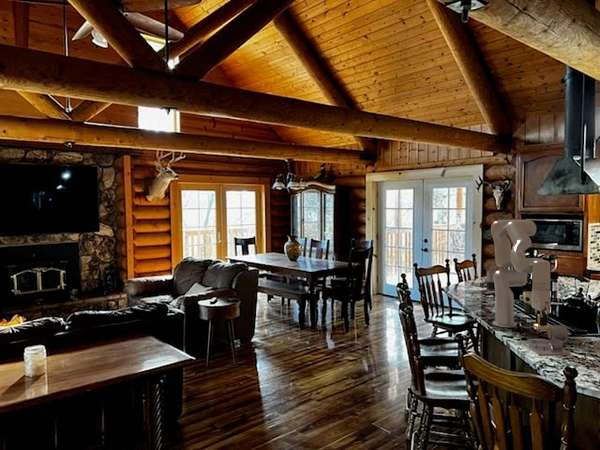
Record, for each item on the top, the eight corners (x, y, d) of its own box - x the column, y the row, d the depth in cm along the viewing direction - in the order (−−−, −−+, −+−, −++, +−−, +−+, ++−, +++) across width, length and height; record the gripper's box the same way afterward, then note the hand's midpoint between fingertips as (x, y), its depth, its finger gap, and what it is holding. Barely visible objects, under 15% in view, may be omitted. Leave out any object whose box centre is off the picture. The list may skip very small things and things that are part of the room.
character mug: (520, 314, 277) (520, 293, 276) (518, 311, 284) (518, 291, 283) (540, 314, 274) (540, 294, 273) (537, 312, 280) (537, 291, 280)
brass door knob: (530, 326, 217) (530, 312, 216) (544, 325, 217) (544, 312, 216) (537, 330, 210) (537, 316, 209) (552, 329, 210) (552, 315, 209)
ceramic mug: (545, 337, 229) (546, 322, 229) (563, 338, 228) (563, 323, 227) (552, 344, 219) (553, 328, 219) (571, 344, 217) (571, 329, 217)
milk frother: (497, 290, 350) (497, 271, 349) (476, 288, 359) (476, 270, 358) (500, 287, 362) (500, 269, 361) (480, 285, 371) (480, 268, 370)
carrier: (521, 343, 221) (521, 333, 220) (550, 343, 220) (550, 333, 220) (538, 355, 204) (538, 344, 203) (569, 354, 203) (569, 344, 203)
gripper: (525, 283, 221) (525, 319, 221) (541, 289, 204) (541, 328, 205) (540, 283, 220) (540, 319, 221) (558, 289, 204) (558, 328, 205)
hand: (541, 323), depth 213 cm, fingers closed on brass door knob, 3 cm apart
